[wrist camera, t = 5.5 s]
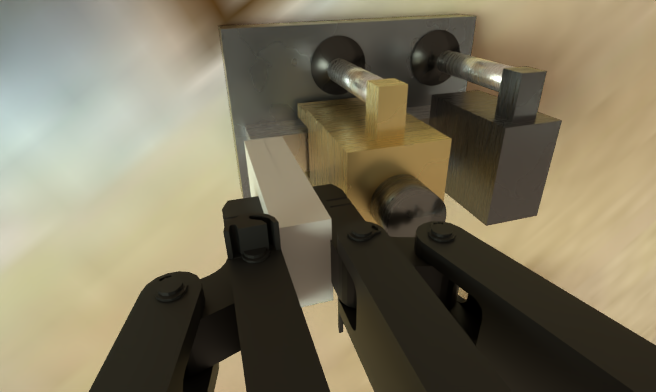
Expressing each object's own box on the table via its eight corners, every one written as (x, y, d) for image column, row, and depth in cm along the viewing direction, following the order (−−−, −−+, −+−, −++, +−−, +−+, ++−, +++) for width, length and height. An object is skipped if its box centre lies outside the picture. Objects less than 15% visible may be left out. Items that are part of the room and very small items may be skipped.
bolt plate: (458, 14, 20) (604, 30, 13) (440, 159, 24) (546, 232, 17) (218, 25, 17) (237, 53, 10) (240, 188, 21) (266, 293, 14)
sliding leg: (372, 53, 18) (487, 96, 11) (369, 169, 21) (459, 262, 14) (294, 59, 17) (365, 110, 10) (301, 179, 20) (361, 284, 13)
